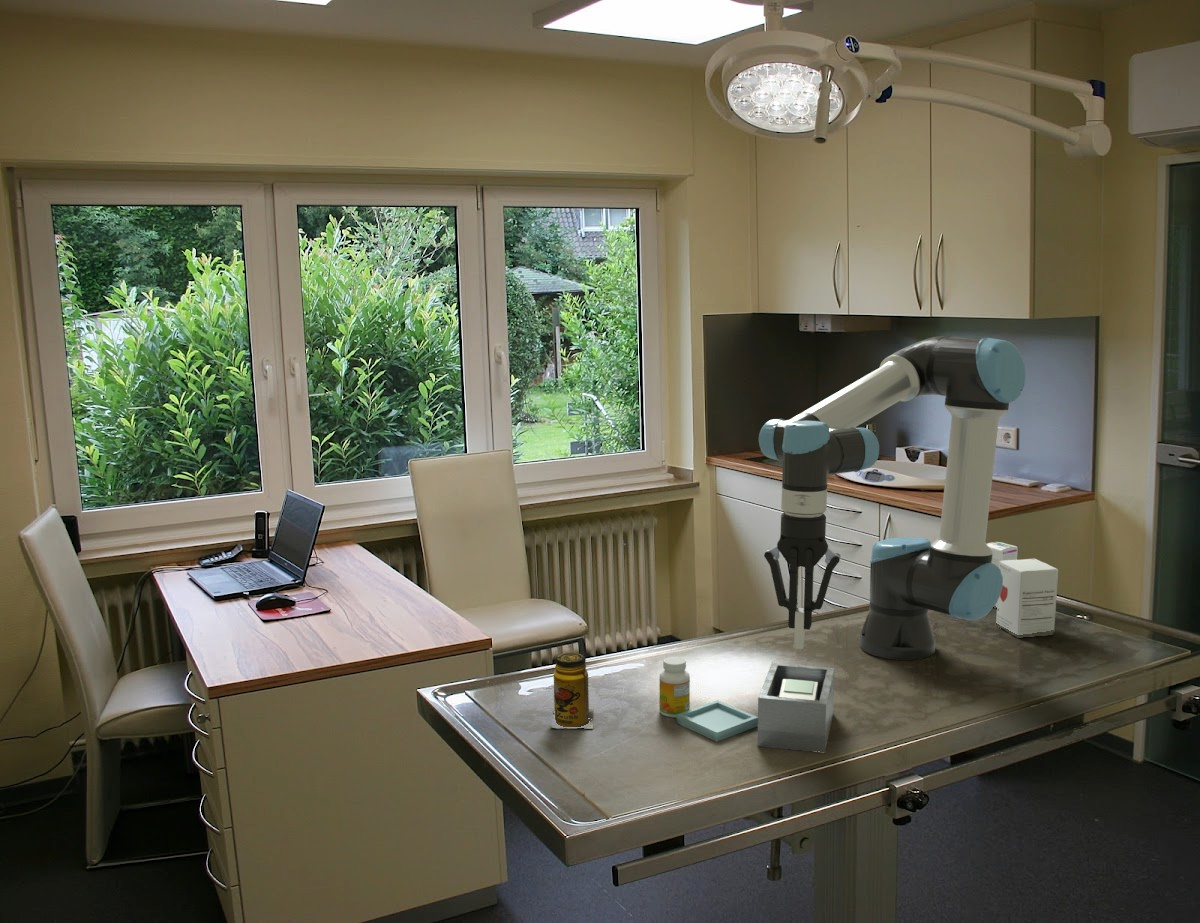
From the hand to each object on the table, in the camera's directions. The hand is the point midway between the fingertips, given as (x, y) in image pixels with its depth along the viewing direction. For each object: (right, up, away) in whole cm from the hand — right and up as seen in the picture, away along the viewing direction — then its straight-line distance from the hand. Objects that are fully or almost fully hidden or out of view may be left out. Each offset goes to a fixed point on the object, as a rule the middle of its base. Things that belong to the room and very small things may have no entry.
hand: (799, 646), depth 192 cm
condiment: (-39, -14, +4) cm, 42 cm away
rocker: (-1, -9, -2) cm, 9 cm away
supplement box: (+58, -5, +49) cm, 76 cm away
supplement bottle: (-21, -13, +7) cm, 26 cm away
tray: (-14, -14, +1) cm, 20 cm away
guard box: (-1, -14, -1) cm, 14 cm away
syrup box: (+58, -2, +67) cm, 89 cm away
